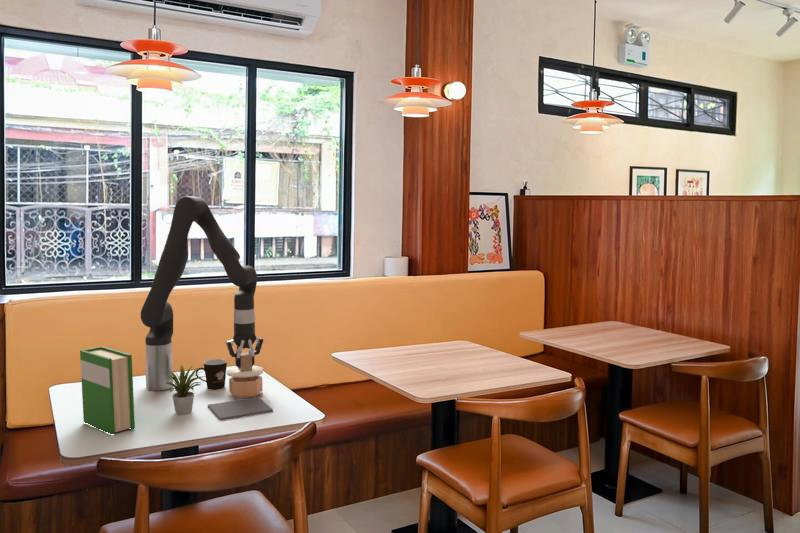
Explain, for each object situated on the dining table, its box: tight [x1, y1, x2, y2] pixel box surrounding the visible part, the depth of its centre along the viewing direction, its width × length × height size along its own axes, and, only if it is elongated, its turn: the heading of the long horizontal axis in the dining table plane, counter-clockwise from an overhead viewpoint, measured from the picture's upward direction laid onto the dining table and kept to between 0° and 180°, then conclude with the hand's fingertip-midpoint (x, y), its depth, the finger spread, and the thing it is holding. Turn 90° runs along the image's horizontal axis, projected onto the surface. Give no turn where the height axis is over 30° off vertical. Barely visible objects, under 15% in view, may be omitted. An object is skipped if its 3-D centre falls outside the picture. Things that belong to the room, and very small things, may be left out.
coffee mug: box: [195, 358, 228, 391], centre depth 252 cm, size 12×9×10 cm
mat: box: [207, 396, 274, 421], centre depth 227 cm, size 18×16×1 cm
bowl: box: [228, 375, 264, 399], centre depth 244 cm, size 11×11×6 cm
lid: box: [226, 351, 264, 378], centre depth 243 cm, size 13×13×7 cm
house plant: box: [166, 365, 206, 416], centre depth 222 cm, size 14×14×16 cm
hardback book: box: [79, 345, 136, 435], centre depth 209 cm, size 18×7×24 cm, turn 52°
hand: (245, 366), depth 243 cm, fingers closed on lid, 4 cm apart
